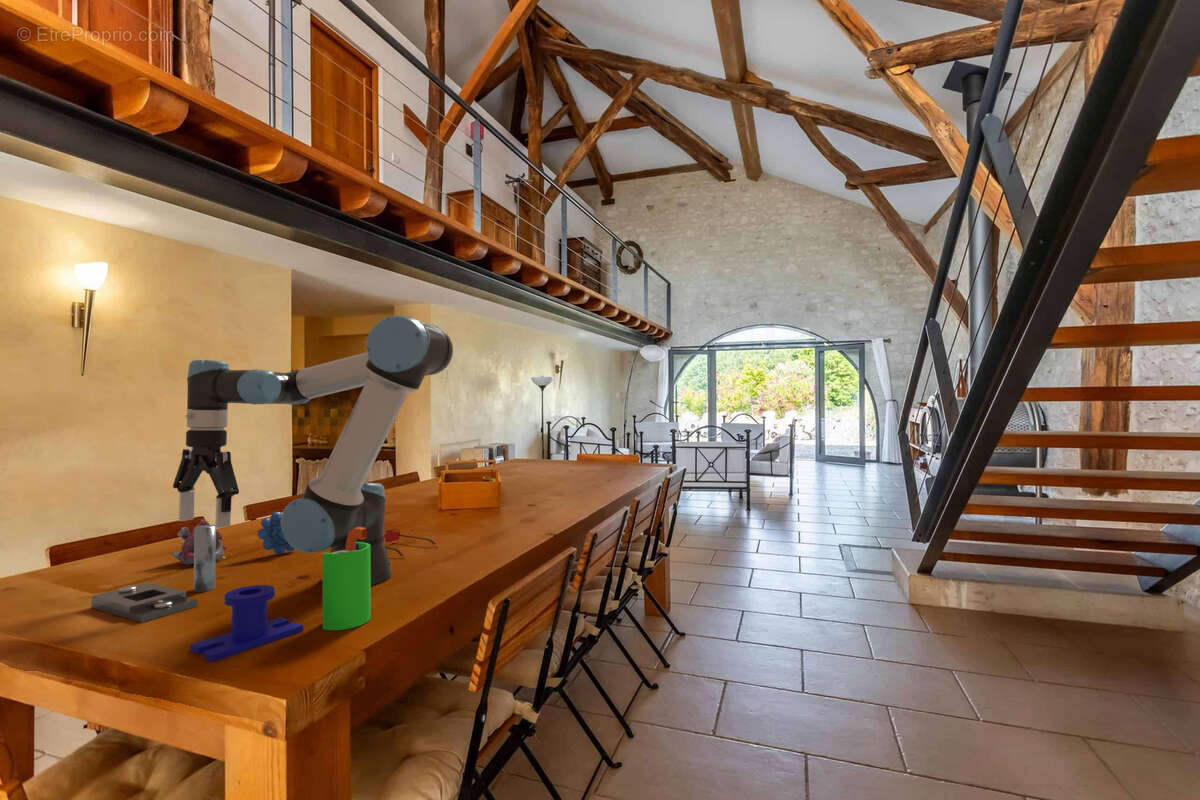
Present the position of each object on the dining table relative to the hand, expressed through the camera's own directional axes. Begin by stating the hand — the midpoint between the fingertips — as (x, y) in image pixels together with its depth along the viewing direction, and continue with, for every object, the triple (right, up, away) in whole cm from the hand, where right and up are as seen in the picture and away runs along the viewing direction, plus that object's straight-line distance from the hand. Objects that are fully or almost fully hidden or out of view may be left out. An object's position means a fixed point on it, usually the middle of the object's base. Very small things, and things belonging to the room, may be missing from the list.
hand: (204, 523), depth 126 cm
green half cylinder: (+40, -15, -18) cm, 47 cm away
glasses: (+32, -16, +36) cm, 50 cm away
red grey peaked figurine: (-17, -15, +22) cm, 32 cm away
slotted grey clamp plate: (-4, -15, -12) cm, 19 cm away
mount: (+27, -15, -27) cm, 41 cm away
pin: (0, -15, 0) cm, 15 cm away
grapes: (+1, -15, +29) cm, 33 cm away
